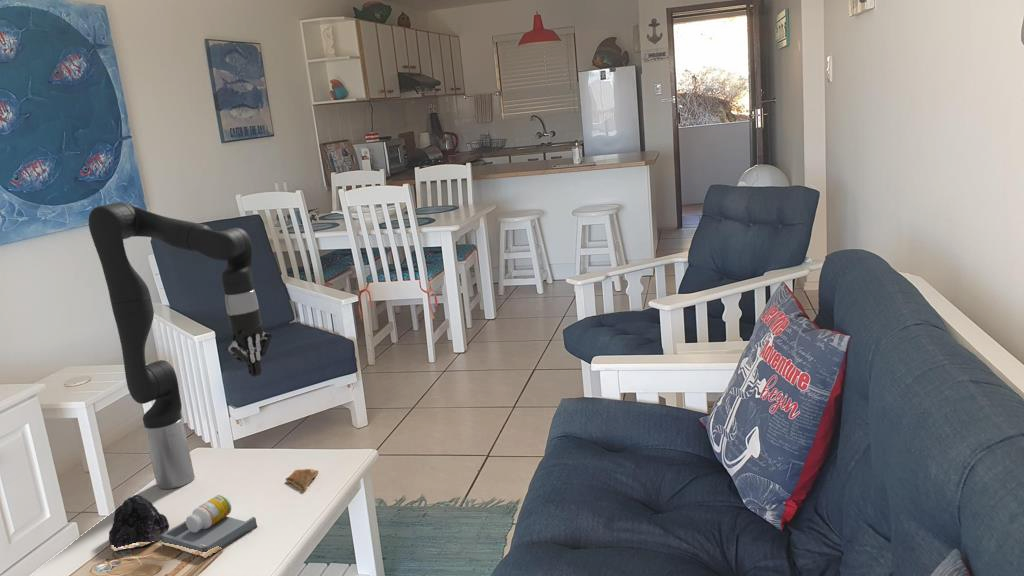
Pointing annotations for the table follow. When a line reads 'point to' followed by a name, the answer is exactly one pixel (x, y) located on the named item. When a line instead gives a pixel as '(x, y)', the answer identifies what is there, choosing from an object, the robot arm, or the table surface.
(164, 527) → the crystal cluster
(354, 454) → the table surface
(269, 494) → the table surface
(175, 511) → the table surface
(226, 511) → the supplement bottle
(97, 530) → the table surface
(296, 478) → the shard
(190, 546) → the tray
